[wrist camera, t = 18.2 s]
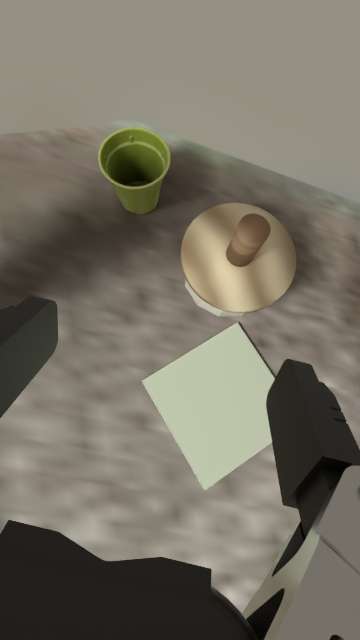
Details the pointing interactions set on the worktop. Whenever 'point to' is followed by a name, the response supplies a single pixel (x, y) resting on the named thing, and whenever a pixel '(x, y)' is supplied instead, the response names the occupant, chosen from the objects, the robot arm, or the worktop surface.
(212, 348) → the mat
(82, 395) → the worktop surface
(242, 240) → the lid
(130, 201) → the plant pot
